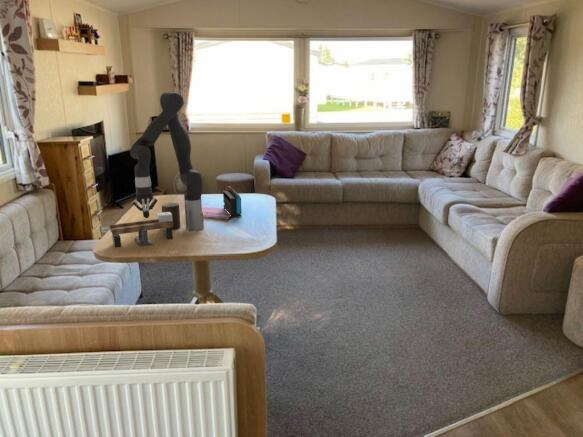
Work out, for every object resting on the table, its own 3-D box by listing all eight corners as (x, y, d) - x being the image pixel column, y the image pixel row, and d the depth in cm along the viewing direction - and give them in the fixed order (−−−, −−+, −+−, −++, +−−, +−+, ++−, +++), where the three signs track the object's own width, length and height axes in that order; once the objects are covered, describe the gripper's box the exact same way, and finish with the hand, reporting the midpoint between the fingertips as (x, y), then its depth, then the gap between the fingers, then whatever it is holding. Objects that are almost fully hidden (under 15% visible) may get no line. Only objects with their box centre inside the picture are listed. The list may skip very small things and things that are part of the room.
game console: (243, 218, 283) (242, 195, 279) (232, 219, 281) (232, 196, 277) (231, 206, 308) (231, 184, 304) (222, 207, 306) (221, 185, 302)
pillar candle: (176, 230, 260) (174, 204, 256) (159, 229, 262) (158, 203, 258) (183, 225, 269) (182, 200, 265) (167, 224, 271) (166, 199, 267)
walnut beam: (169, 222, 252) (168, 217, 251) (173, 226, 244) (173, 221, 244) (110, 229, 238) (109, 224, 238) (112, 235, 231) (112, 229, 230)
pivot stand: (167, 233, 256) (166, 216, 253) (174, 241, 244) (173, 224, 241) (112, 241, 243) (110, 224, 240) (116, 250, 231) (114, 232, 228)
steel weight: (170, 220, 250) (169, 211, 248) (172, 223, 245) (172, 214, 244) (156, 222, 246) (156, 213, 245) (159, 225, 242) (158, 215, 241)
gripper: (154, 182, 242) (157, 214, 247) (128, 184, 236) (131, 217, 241) (158, 185, 236) (161, 217, 241) (131, 188, 230) (134, 221, 235)
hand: (146, 217), depth 241 cm, fingers closed
